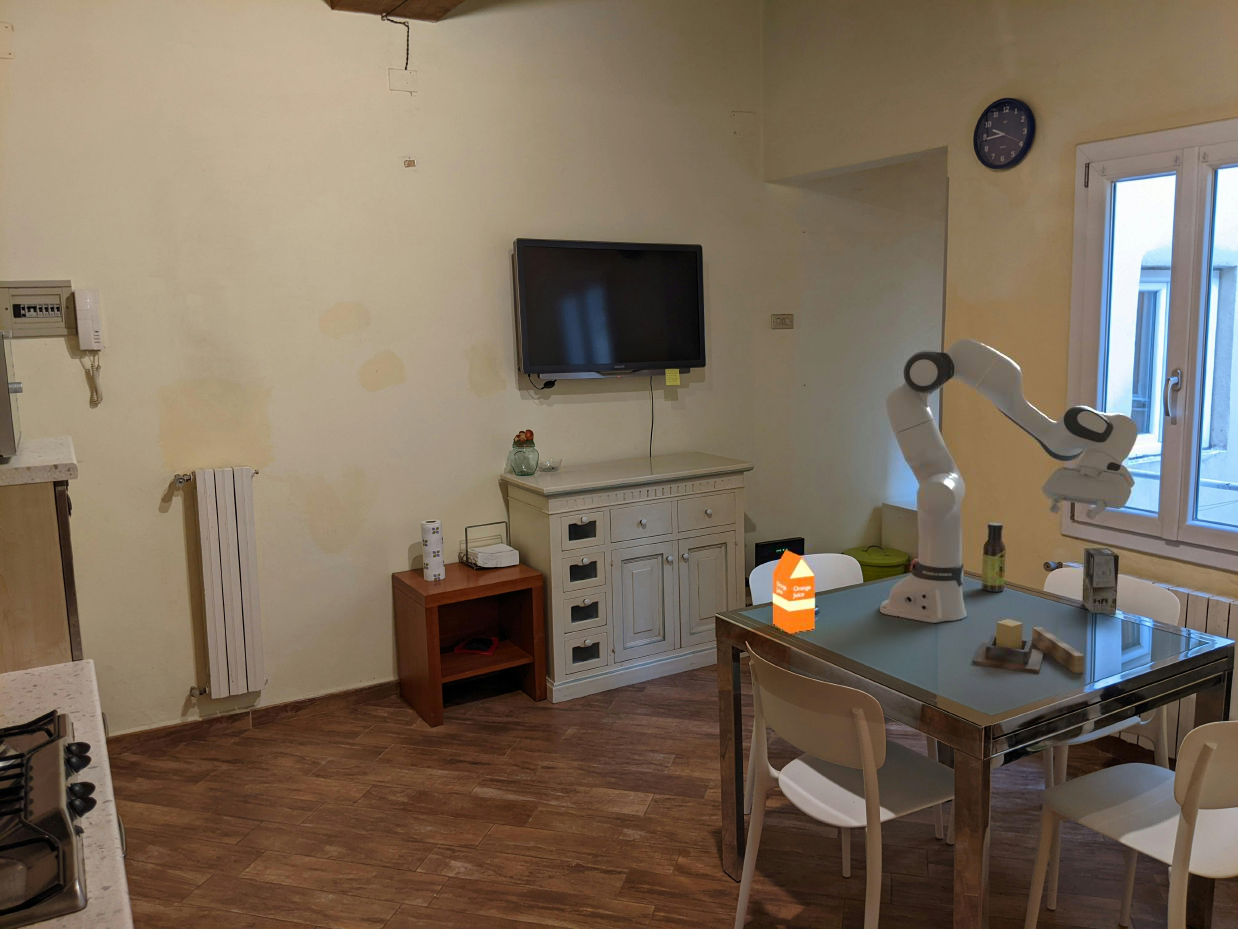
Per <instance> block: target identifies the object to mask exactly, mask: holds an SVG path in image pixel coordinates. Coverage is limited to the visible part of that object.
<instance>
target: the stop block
mask: <svg viewBox="0 0 1238 929" xmlns="http://www.w3.org/2000/svg"><path fill="white" fill-rule="evenodd" d="M1023 625H1024V623H1023V622H1020V621H1016V620H1013V619H1010V618H1006V619H1003V620H1000V621H996V626H995V627H996V632H995V634H996V646H997V647H1004V648H1012V649H1020V650H1022V639H1023V627H1024V626H1023Z"/></svg>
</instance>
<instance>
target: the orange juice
mask: <svg viewBox="0 0 1238 929" xmlns="http://www.w3.org/2000/svg"><path fill="white" fill-rule="evenodd" d="M815 576H816V575H815V574H814V573H813V570H812V569H811V568H810V567H809V565H808V564H807V562H806V561H805V559H804V558H803V557H802V556H801V555H798V554H796V553H793V552H792V551H790V550H787V549H786V550H785V551H784V553H783V554H782V555H781V558H780V560H779V561H778V562H777V564H776V566H775V567H774V569H773V570H772V624H773V625H774V624H775V625H774V626H775V627H777V628H779V629H780V630H782V629H783V630H782V631H784V632H786V633H787V632H788V633H787V634H796V633H795V632H797V633H800V632H799V631H803V632H807V631H806V630H810V631H812V630H811V629H815V628H816V627H815V618H816V617H815V616H816V614H815V613H816V612H815V609H816V597H815V592H816V591H815V590H816V589H815V588H816V587H815V586H816V584H815V583H816V582H815V581H816V580H815Z"/></svg>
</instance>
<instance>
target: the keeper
mask: <svg viewBox="0 0 1238 929" xmlns="http://www.w3.org/2000/svg"><path fill="white" fill-rule="evenodd" d="M1044 656H1045V652H1044V650H1041V649H1037V648H1036V649H1034V648H1033V643H1032V639H1026V638H1022V650H1020V649H1012V648H1004V647H997V646H996V635H994V634H990V637H989V639H988V641H987V642H980V645H979V647H978V649H977V650H976V653H975V655H974V657H973V658H972V665H976V666H977V665H978V666H984V667H989V668H990V667H991V668H996V669H997V668H999V669H1005V670H1010V671H1019V672H1027V673H1034V674H1040V669H1041V667H1042V663H1043V661H1044V660H1043V659H1044Z"/></svg>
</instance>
